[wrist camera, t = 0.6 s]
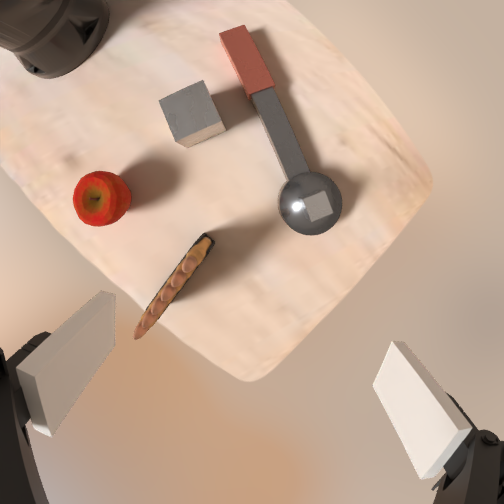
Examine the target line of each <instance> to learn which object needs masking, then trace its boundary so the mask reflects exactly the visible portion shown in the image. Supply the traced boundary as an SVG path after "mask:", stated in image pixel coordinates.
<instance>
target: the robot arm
mask: <svg viewBox="0 0 504 504" xmlns="http://www.w3.org/2000/svg"><path fill="white" fill-rule="evenodd" d="M108 21H109V9H108V6H107V4H106V2H105V1H104V0H0V47H2V48H4V49H7V50H9V51H11V52H13V53H14V55H15V56H16V57H17V59H18V60H19V61H20V63H21V64H22V65H23V66H24V68H25V69H26V70H27V71H28V72H29V73H31V74H33V75H36V76H38V77H40V78H45V79H51V78H56V77H59V76H62V75H64V74H66V73H68V72H70V71H72V70H73V69H75V68H76V67H77V66H79V65H80V64H81V63H82V62H83V61H84V60H85V59H86V58H87V57H88V56H89V55H90V54H91V53H92V52H93V51H94V49H95V48H96V47H97V45H98V44H99V42H100V41H101V39H102V37H103V35H104V33H105V31H106V28H107V25H108ZM115 305H116V294H113V293H109V292H105V291H100V292H99V293H98V294H97V295H95V296H94V297H93V298H92V299H91V300H89V301H88V302H87V303H86V304H85V305H84V306H83V307H81V308H80V309H79V310H78V311H77V312H76V313H75V314H73V315H72V316H71V317H70V318H69V319H68V320H67V321H65V322H64V323H63V324H62V325H61V326H60V327H59V328H58V329H57V330H56V331H54V332H53V333H52V334H51V333H48V332H43V333H40V334H38V335H35V336H34V337H33V338H32V339H30V340H29V341H28V342H27V344H25V345H24V346H23V347H22V348H21V349H19V350H18V351H17V352H16V353H15V354H14V355H13V356H11V357H10V358H9V359H8V360H7V361H5V356H4V353H3V350H2V349H1V348H0V504H49V502H48V500H47V497H46V494H45V491H44V488H43V485H42V482H41V479H40V476H39V473H38V470H37V466H36V463H35V460H34V456H33V452H32V448H31V444H30V440H29V436H28V431H27V428H26V426H25V424H26V423H27V422H28V420H29V419H30V418H31V421H32V424H33V427H34V429H35V430H37V431H40V432H41V433H43V434H46V435H48V436H50V437H53V435H54V434H55V432H56V430H57V429H58V427H59V426H60V424H61V423H62V421H63V420H64V418H65V417H66V415H67V414H68V412H69V411H70V409H71V408H72V406H73V405H74V403H75V402H76V400H77V399H78V397H79V396H80V394H81V393H82V392H83V390H84V389H85V387H86V386H87V384H88V383H89V382H90V380H91V379H92V377H93V376H94V374H95V373H96V371H97V370H98V369H99V367H100V366H101V364H102V363H103V362H104V360H105V359H106V357H107V356H108V355H109V353H110V352H111V351H112V349H113V348H114V346H115ZM372 386H373V388H374V389H375V391H376V393H377V395H378V397H379V399H380V401H381V403H382V404H383V407H384V408H385V410H386V412H387V414H388V416H389V418H390V420H391V422H392V424H393V426H394V428H395V429H396V431H397V434H398V435H399V437H400V439H401V441H402V443H403V445H404V447H405V449H406V451H407V453H408V455H409V457H410V460H411V461H412V463H413V466H414V468H415V470H416V471H417V474H418V476H419V478H420V480H422V479H426V478H431V477H435V476H436V475H437V473H438V472H439V471H440V470H441V469H442V468H443V467H444V469H445V471H446V473H445V474H444V475H443V476H442V477H441V479H440V480H439V481H438V482H437V483H436V484H435V485H434V487H433V488H432V490H434V489H435V488H436V487H438V486H439V488H438V490H437V494H436V497H435V500H434V503H433V504H504V441H500V440H499V438H498V437H497V436H496V435H495V434H494V433H492V432H490V431H488V430H480V431H479V430H478V429H477V428H476V426H475V425H474V424H473V422H472V421H471V420H470V418H469V417H468V416H467V415H466V413H465V412H463V409H462V408H461V407H459V404H458V403H457V402H456V401H455V399H454V398H453V397H452V396H450V395H449V394H448V393H446V392H445V391H444V390H443V389H442V388H441V386H440V385H439V384H438V383H437V381H436V380H435V379H434V377H433V376H432V375H431V374H430V373H429V372H428V370H427V369H426V368H425V366H424V365H423V364H422V363H421V362H420V360H419V359H418V358H417V357H416V355H415V354H414V353H413V352H412V351H411V350H410V348H409V347H408V346H407V345H406V344H405V342H399V341H392V342H391V344H390V347H389V349H388V351H387V354H386V356H385V359H384V361H383V363H382V365H381V368H380V370H379V372H378V375H377V377H376V379H375V381H374V383H373V385H372Z"/></svg>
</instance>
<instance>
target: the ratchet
mask: <svg viewBox="0 0 504 504" xmlns="http://www.w3.org/2000/svg"><path fill="white" fill-rule="evenodd" d="M219 36H220V40H221V43H222V45H223V47H224V49H225V51H226V53H227V55H228V57H229V59H230V62H231V64H232V66H233V68H234V70H235V72H236V74H237V76H238V78H239V80H240V82H241V85H242V87H243V89H244V91H245V93H246V95H247V97H248V100H252V102H253V104H254V107H255V109H256V111H257V113H258V115H259V118H260V120H261V122H262V124H263V127H264V129H265V131H266V133H267V136H268V138H269V140H270V142H271V145H272V147H273V149H274V152H275V154H276V156H277V159H278V161H279V164H280V166H281V168H282V171H283V173H284V175H285V178H286V180H287V181H286V182H285V183H284V184H283V186H282V187H281V189H280V192H279V195H278V209H279V212H280V214H281V216H282V218H283V219H284V221H285V222H286V223H287V224H288V225H289V226H290V227H291V228H292V229H293V230H295V231H296V232H298V233H301V234H304V235H318V234H321V233H324V232H326V231H328V230H329V229H330V228H331V227H333V226H334V224H335V223H336V222H337V220H338V218H339V216H340V214H341V210H342V198H341V194H340V191H339V189H338V187H337V186H336V184H335V183H334V182H333V181H332V180H331V179H330V178H328V177H327V176H325V175H323V174H320V173H316V172H310V170H309V168H308V166H307V163H306V161H305V158H304V156H303V154H302V151H301V149H300V146H299V144H298V142H297V139H296V137H295V135H294V133H293V130H292V128H291V126H290V123H289V121H288V119H287V117H286V115H285V112H284V110H283V108H282V106H281V104H280V101H279V99H278V97H277V95H276V93H275V91H274V88H275V83H274V81H273V79H272V77H271V75H270V73H269V71H268V69H267V67H266V65H265V63H264V61H263V59H262V57H261V55H260V53H259V51H258V49H257V47H256V45H255V44H254V42H253V40H252V38H251V36H250V34H249V32H248V30H247V29H246V27H245V25H242V26H239V27H236V28H233V29H230V30H227V31H224V32H222V33H219Z"/></svg>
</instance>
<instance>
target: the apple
mask: <svg viewBox="0 0 504 504" xmlns="http://www.w3.org/2000/svg"><path fill="white" fill-rule="evenodd" d="M130 203H131V193H130V190H129V188H128V187H127V185H126V184H125V182H124V181H123V180H122V179H121V178H120V177H119V176H117V175H116V174H114V173H111V172H105V171H95V172H92V173H89V174H87V175H85V176H84V177H82V178H81V179H80V181H79V183H78V184H77V186H76V188H75V190H74V195H73V204H74V208H75V210H76V212H77V214H78V217H79V218H80V219H81V220H82V221H83V222H84V223H85V224H88V225H91V226H99V227H100V226H105V225H109V224H112V223H114V222H116V221H118V220H119V219H120V218H121V217H122V216H123V215H124V214H125V213H126V211H127V210H128V208H129V206H130Z"/></svg>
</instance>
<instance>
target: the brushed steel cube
mask: <svg viewBox="0 0 504 504" xmlns="http://www.w3.org/2000/svg"><path fill="white" fill-rule="evenodd" d="M159 103H160V105H161V108H162V110H163V113H164V115H165V118H166V120H167V122H168V125H169V127H170V130H171V132H172V134H173V137H174V139H175V142H177V143H179V144H181V145H183V146H185V147H187V148H189V147H191V146H193V145H195V144H197V143H200V142H202V141H204V140H206V139H209V138H211V137H213V136H215V135H218V134H220V133H222V132H225V131H226V129H225V127H224V124H223V122H222V120H221V117H220V115H219V113H218V111H217V108H216V106H215V104H214V102H213V99H212V97H211V95H210V93H209V91H208V89H207V87H206V85H205V83H204V81H203V80H202V81H199V82H197V83H195V84H193V85H190V86H188V87H186V88H184V89H182V90H179V91H177V92H175V93H173V94H171V95H169V96H167V97H165V98H163V99H161V100H159Z"/></svg>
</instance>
